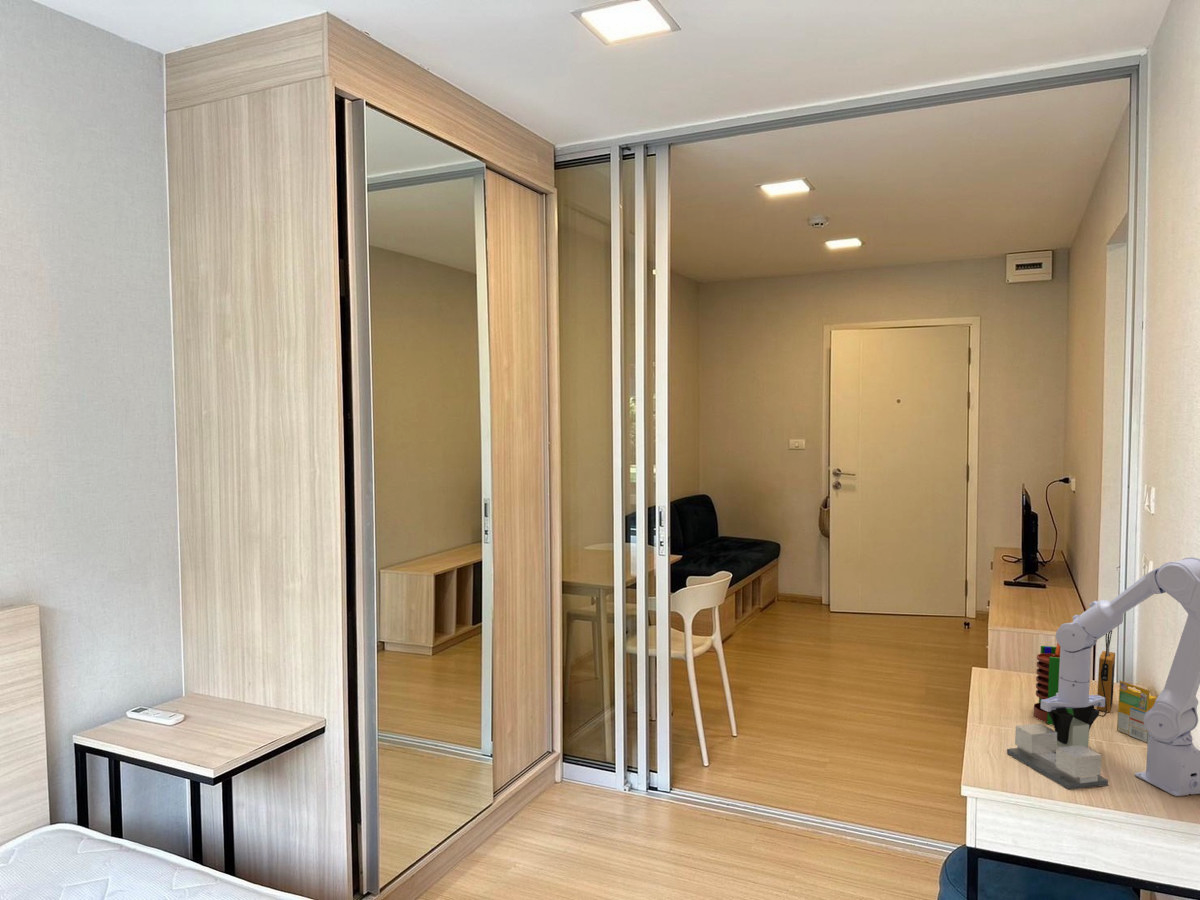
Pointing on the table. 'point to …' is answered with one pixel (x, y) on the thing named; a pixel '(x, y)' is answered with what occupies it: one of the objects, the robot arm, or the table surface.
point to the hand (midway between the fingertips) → (1071, 741)
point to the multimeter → (1106, 676)
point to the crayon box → (1133, 710)
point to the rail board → (1057, 758)
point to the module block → (1077, 734)
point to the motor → (1047, 679)
